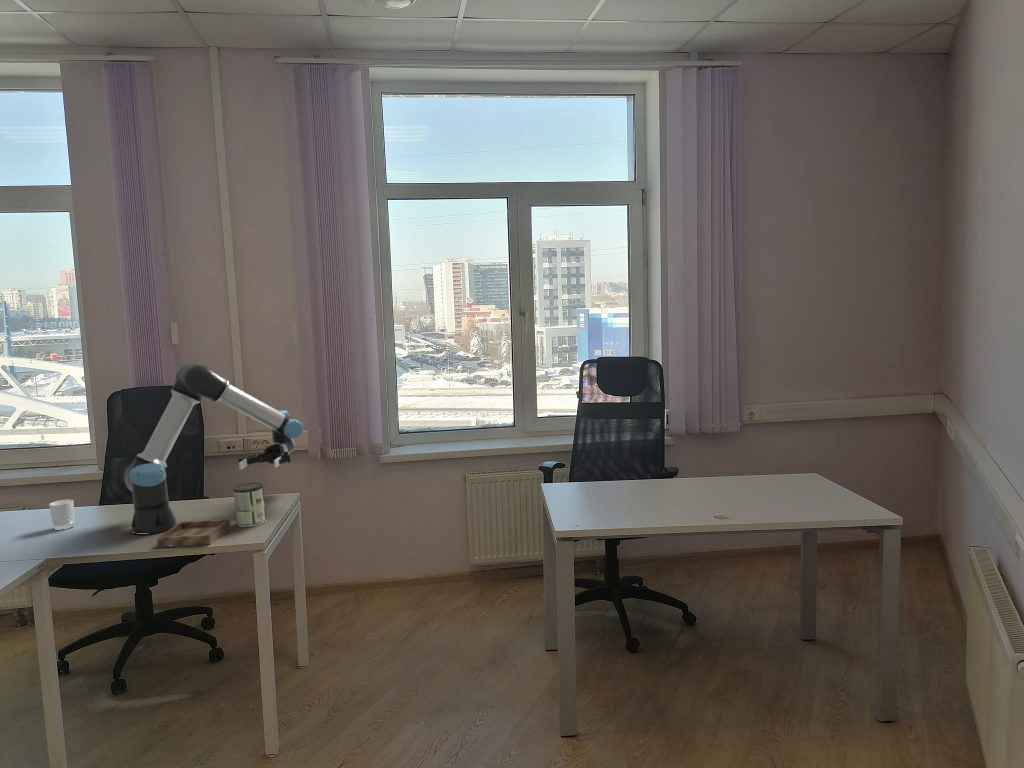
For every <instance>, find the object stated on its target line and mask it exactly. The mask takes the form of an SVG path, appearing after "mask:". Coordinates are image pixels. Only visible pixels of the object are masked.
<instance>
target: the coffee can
mask: <svg viewBox="0 0 1024 768" xmlns="http://www.w3.org/2000/svg"><path fill="white" fill-rule="evenodd" d="M263 486H264V484H263V483H262V482H255V481H254V482H246V483H241V484H238V485H235V486H234V487H233V488H232V489H233V496H234V497H233V498H234V503H235V511H236V521H237V523H236V525H237V526H238V527H241V528H250V527H251V528H252V527H257V526H260V525H263V524H265V523H266V522H267V517H266V508H265V498H264V487H263ZM264 522H265V523H264ZM262 523H263V524H262Z"/></svg>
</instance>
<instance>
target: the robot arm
mask: <svg viewBox="0 0 1024 768" xmlns="http://www.w3.org/2000/svg"><path fill="white" fill-rule="evenodd" d="M170 392H171V394H172V396H171V398H170V400H169V402H168V404H167V406H166V408H165V410H164V412H163V413H162V415H161V417H160V419H159V421H158V423H157V425H156V426H155V429H154V430H153V432H152V434H151V436H150V439H149V441H148V442H147V444H146V446H145V449H144V450H143V452H140V453H137V455H136V456H135V458H134V460H133V462H132V463H131V464H129V466H128V467H127V468H126V470H125V472H124V477H123V479H124V484H125V486H126V488H127V489H128V490H129V491H130V492H131V493H132V500H133V501H132V502H133V508H134V509H133V510H134V512H133V517H132V521H131V525H130V526H131V527H130V528H131V529H130V530H131V533H132V532H135V533H155V534H157V533H156V532H160V533H163V531H164V532H167V531H168V530H170V529H171V528H173V527H174V526H175V525H177V524H178V523H177V518H176V516H175V515H174V512H173V510H172V508H171V506H170V502H169V494H168V484H167V473H166V469H167V467H168V465H167V462H166V461H167V459H168V457H169V455H170V453H171V451H172V449H173V447H174V445H175V443H176V442H177V439H178V437H179V435H180V433H181V431H182V429H183V428H184V425H185V423H186V422H187V419H188V418H189V416H190V413H191V412H192V410H193V408H194V406H195V405H197V404H201V401H202V399H203V398H206V399H208V400H210V401H212V402H214V403H217V402H219V403H221V404H223V405H226V406H228V407H229V408H231V409H233V410H236V411H237V412H239V413H241V414H243V415H244V416H246V417H248V418H251V419H252V420H254V421H256V422H258V423H260V424H262V425H264V426H266V427H268V428H270V429H271V436H272V443H271V444H270V445H268V446H267V447H266V448H265V449H264V450H263V452H262V453H256V452H255V453H253V454H250V455H248V456H247V455H246V456H244V457H241V458H238V469H239V471H242V470H244V469H245V468H247V466H248V465H253V464H256V463H260V464H261V463H269V464H272V465H274V469H275V468H276V469H277V468H278V467H280V466H281V465H282V464H286V462H287V463H291V456H290V455H291V454H292V452H293V451H294V450H295V448H296V444H295V443H296V442H295V441H294V439H297V438H299V437H300V436H301V435H302V433H303V431H304V430H303V429H304V427H303V424H302V422H300V421H299V420H297V419H294V418H293V417H290V414H289V411H288V410H285V409H284V410H282V409H281V410H277V409H275V408H274V407H272V406H270V405H269V404H266V403H265V402H263V401H261V400H260V399H257V398H256V397H254V396H252V395H251V394H248V393H247V392H245V391H243V390H241V389H239V388H238V387H236V386H233V385H232V384H230V382H229V379H227V378H225V377H223V376H222V375H220V374H219V373H217V372H216V371H214V370H213V369H211V368H210V367H208V366H206V365H204V364H198V363H195V362H194V363H188V364H184V365H183V366H181V367H180V368H179V369H178V371H177V372H176V375H175V381H174V383H173V385H172V387H171V389H170ZM166 530H167V531H166Z"/></svg>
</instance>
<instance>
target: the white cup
mask: <svg viewBox="0 0 1024 768" xmlns="http://www.w3.org/2000/svg"><path fill="white" fill-rule="evenodd" d="M48 505H49V510H50V515H51V520H52V523H53V526H54V525H55V526H63V525H68V524H72V523H75V519H76V517H75V506H74V505H75V504H74V499H62V500H56V501H53V502H50V503H49V504H48Z"/></svg>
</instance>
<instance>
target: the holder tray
mask: <svg viewBox="0 0 1024 768" xmlns="http://www.w3.org/2000/svg"><path fill="white" fill-rule="evenodd" d="M230 527H231V520H230V519H211V520H191V521H190V520H189V521H180V522H178V523H177V525H175V526H174V527H173V528H171V529H170V530H167V531H164V533H162V534H161V535H160V536H158V537H157V538H156V543H157V547H158V546H169V545H191V546H206V545H205V544H210V545H212V544H213V543H214V542H215V541H216V540H218V539H219V538H220V537H221V536H223V535H224V534H225V533H226V532H227V531H228V529H229V528H230ZM230 529H231V528H230ZM230 529H229V530H230ZM224 532H225V533H224ZM223 533H224V534H223ZM222 534H223V535H222ZM219 536H220V537H219ZM218 537H219V538H218ZM217 538H218V539H217ZM212 542H213V543H212ZM211 543H212V544H211ZM202 544H204V545H202Z"/></svg>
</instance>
